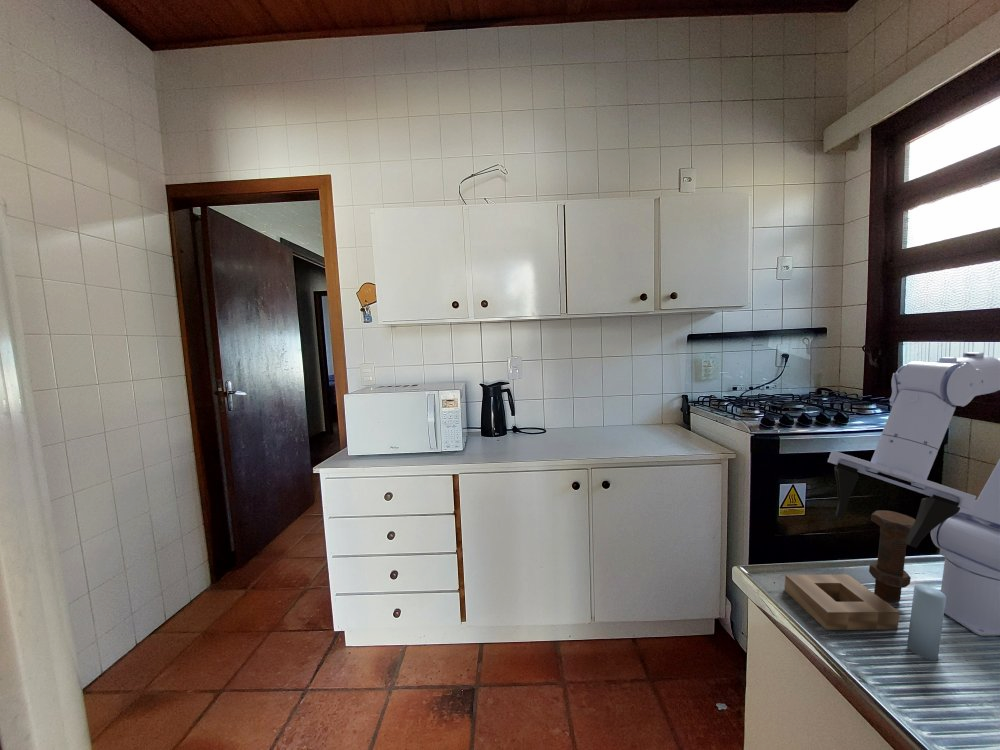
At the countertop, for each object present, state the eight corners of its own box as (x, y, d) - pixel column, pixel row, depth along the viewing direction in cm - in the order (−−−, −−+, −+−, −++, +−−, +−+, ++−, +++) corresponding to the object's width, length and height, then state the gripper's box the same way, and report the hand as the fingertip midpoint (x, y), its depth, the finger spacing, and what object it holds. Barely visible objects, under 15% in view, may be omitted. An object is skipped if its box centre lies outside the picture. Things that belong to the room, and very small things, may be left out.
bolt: (918, 612, 62) (929, 527, 60) (882, 608, 63) (892, 524, 61) (890, 588, 68) (899, 510, 66) (857, 585, 69) (865, 508, 67)
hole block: (846, 589, 68) (847, 574, 67) (897, 629, 59) (899, 611, 58) (784, 590, 68) (785, 574, 68) (826, 629, 59) (827, 612, 59)
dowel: (921, 642, 56) (928, 584, 55) (944, 660, 53) (953, 598, 52) (901, 642, 56) (908, 584, 55) (923, 660, 53) (930, 599, 52)
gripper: (846, 421, 55) (812, 507, 55) (1000, 464, 46) (958, 566, 46) (840, 425, 60) (809, 503, 61) (977, 464, 51) (939, 555, 52)
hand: (873, 530), depth 54 cm, fingers open, 7 cm apart
